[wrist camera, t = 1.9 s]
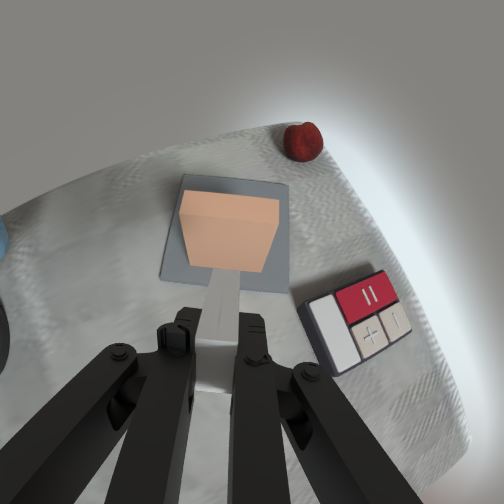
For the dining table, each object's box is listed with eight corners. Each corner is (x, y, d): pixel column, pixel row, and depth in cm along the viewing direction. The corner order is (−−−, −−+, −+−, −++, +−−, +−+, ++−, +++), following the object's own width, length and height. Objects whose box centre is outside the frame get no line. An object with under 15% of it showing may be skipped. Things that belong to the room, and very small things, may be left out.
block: (190, 265, 39) (179, 213, 27) (193, 246, 40) (184, 189, 28) (261, 272, 39) (278, 223, 28) (262, 253, 41) (279, 199, 29)
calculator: (416, 329, 35) (338, 377, 31) (399, 336, 39) (325, 379, 34) (386, 266, 39) (305, 299, 35) (372, 277, 43) (295, 308, 39)
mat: (160, 280, 38) (159, 278, 37) (184, 177, 46) (184, 174, 46) (287, 293, 39) (288, 291, 38) (287, 188, 48) (288, 185, 47)
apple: (309, 143, 54) (319, 113, 47) (323, 170, 51) (336, 140, 44) (275, 144, 53) (282, 113, 45) (287, 172, 49) (297, 140, 42)
